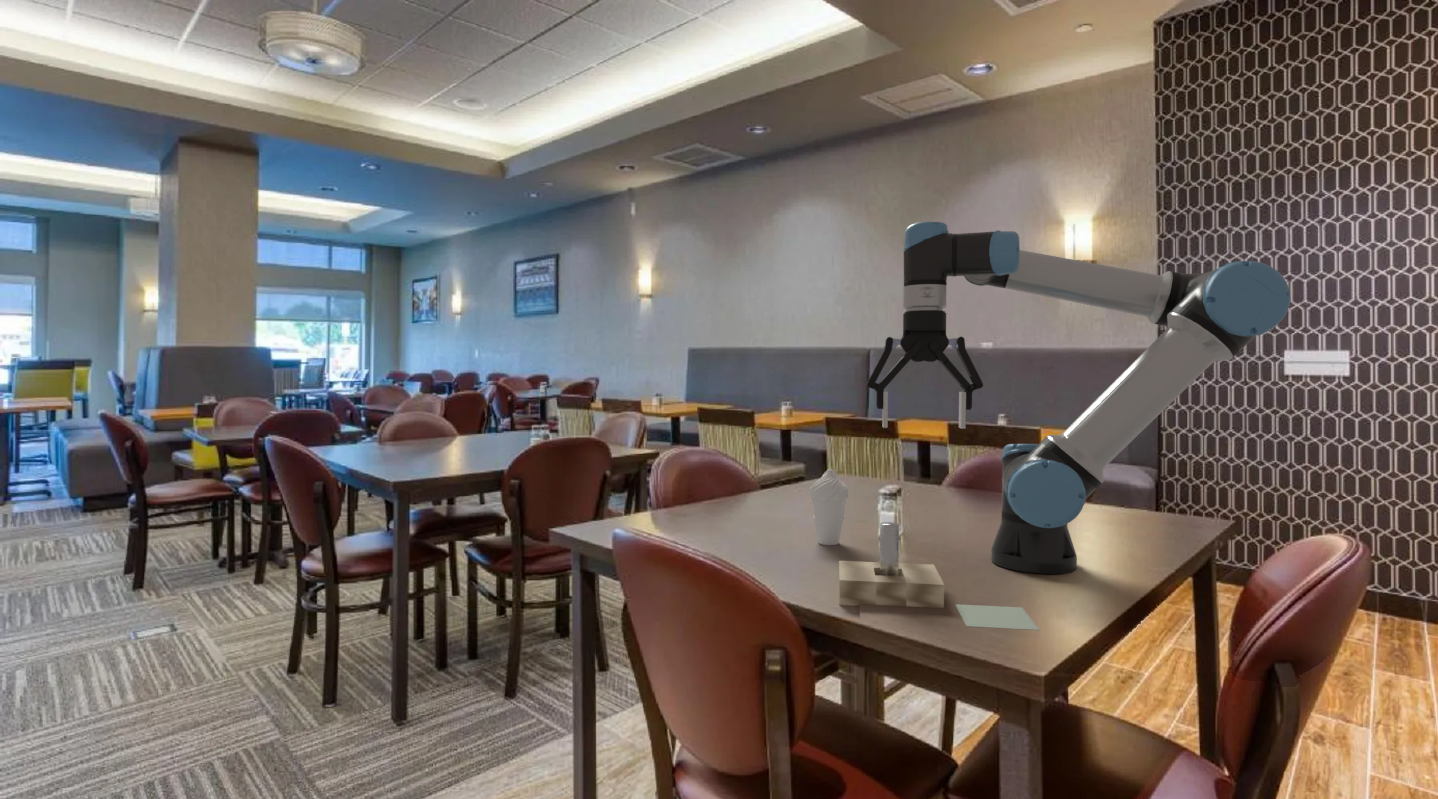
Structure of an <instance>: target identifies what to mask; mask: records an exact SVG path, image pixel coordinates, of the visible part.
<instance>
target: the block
mask: <svg viewBox="0 0 1438 799" xmlns="http://www.w3.org/2000/svg"><path fill="white" fill-rule="evenodd" d="M838 596H839V598H838V599H839V602H838V604H839V606H846V607H847V606H849V607H851V606H852V607H860V605H875V606H891V607H892V606H893V607H894V606H895V607H911V608H912V607H916V608H917V607H918V608H935V609H938V608H939V609H944V608H945V584H944V581H943V579H942V577H941V576H940V573H939V572H938V570H937V567H936V566H935V564H932V563H931V564H928V563H927V564H926V563H909V562H908V563H907V562H906V563H904V562H898V576H880V561H856V560H855V561H853V560H852V561H851V560H839V561H838Z"/></svg>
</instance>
